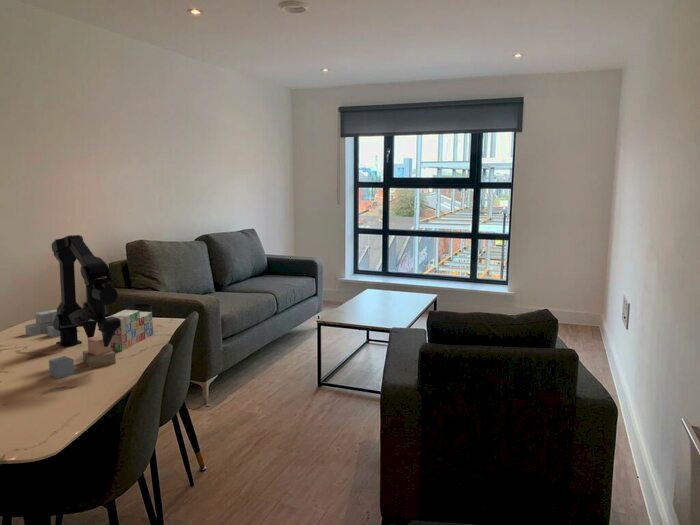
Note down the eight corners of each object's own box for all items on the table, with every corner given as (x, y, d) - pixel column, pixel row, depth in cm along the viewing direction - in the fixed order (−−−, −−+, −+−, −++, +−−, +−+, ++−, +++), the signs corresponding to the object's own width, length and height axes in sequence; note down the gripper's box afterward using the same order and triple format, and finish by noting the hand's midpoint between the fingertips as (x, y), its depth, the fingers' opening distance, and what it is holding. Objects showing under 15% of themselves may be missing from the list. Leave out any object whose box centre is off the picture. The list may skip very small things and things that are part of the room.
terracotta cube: (88, 352, 174) (87, 338, 173) (102, 348, 178) (101, 334, 177) (96, 355, 171) (95, 341, 170) (110, 351, 175) (110, 337, 175)
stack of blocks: (139, 333, 208) (138, 303, 206) (153, 334, 207) (152, 304, 205) (106, 350, 188) (104, 317, 186) (122, 351, 187) (120, 318, 185)
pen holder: (157, 328, 215) (156, 305, 213) (137, 334, 207) (136, 310, 205) (142, 324, 220) (141, 302, 218) (122, 330, 212) (121, 306, 210)
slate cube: (49, 375, 163) (48, 360, 163) (65, 370, 167) (64, 355, 167) (58, 378, 161) (56, 363, 160) (74, 374, 165) (73, 359, 164)
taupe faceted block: (83, 362, 176) (82, 351, 175) (108, 357, 181) (107, 346, 180) (90, 369, 170) (89, 357, 169) (115, 364, 175) (115, 352, 174)
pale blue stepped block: (25, 334, 202) (24, 315, 201) (56, 327, 213) (55, 309, 211) (42, 340, 196) (41, 320, 195) (73, 333, 206) (72, 313, 205)
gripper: (56, 298, 170) (59, 344, 173) (87, 308, 160) (90, 356, 162) (89, 293, 179) (91, 336, 182) (121, 301, 169) (123, 347, 172)
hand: (98, 343), depth 174 cm, fingers open, 9 cm apart
